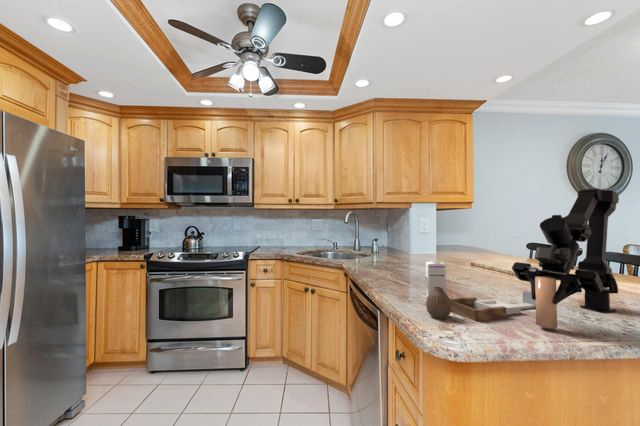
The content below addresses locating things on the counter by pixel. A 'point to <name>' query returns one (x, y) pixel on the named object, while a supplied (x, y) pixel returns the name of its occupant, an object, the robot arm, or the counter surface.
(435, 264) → the syrup box
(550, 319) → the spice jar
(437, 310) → the vase
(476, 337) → the counter surface
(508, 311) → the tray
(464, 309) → the dock
